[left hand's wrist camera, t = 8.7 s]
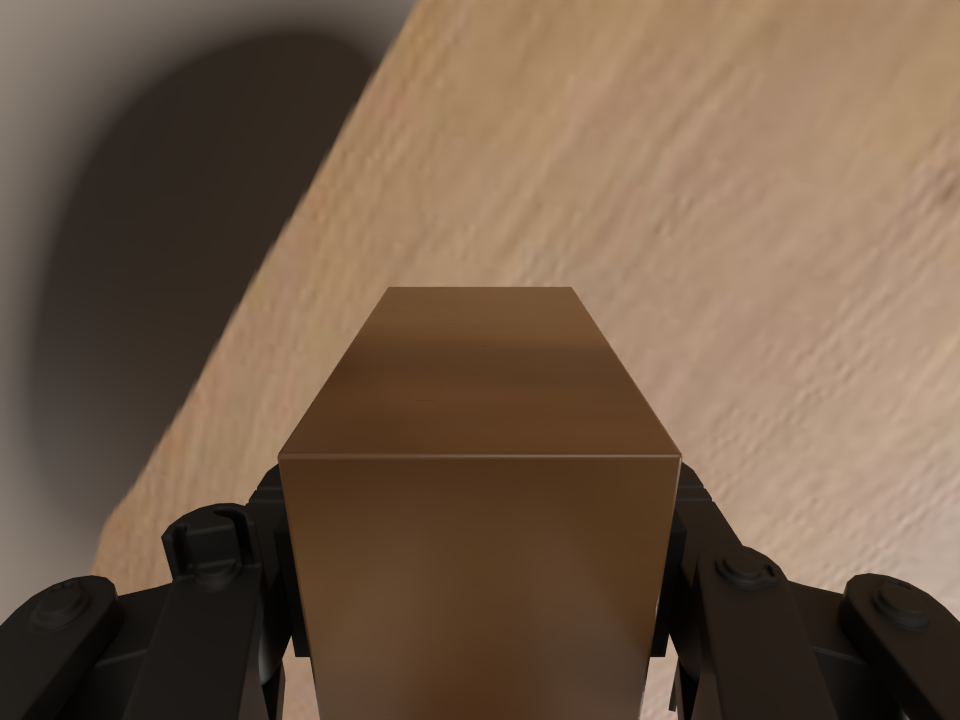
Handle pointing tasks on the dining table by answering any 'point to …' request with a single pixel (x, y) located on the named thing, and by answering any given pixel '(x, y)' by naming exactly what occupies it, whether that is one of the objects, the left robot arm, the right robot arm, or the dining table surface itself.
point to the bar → (480, 514)
